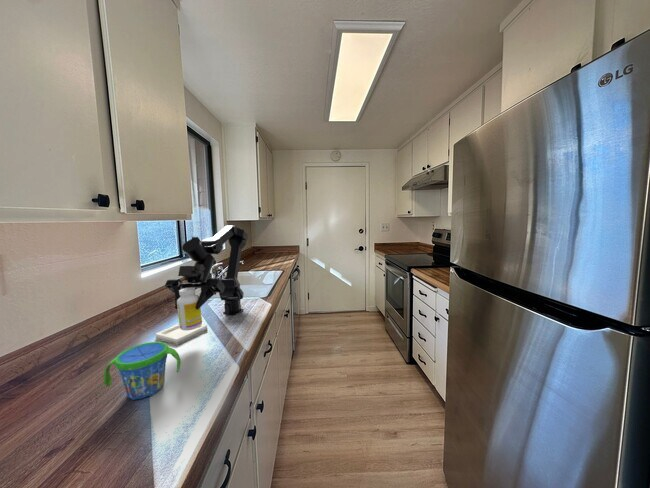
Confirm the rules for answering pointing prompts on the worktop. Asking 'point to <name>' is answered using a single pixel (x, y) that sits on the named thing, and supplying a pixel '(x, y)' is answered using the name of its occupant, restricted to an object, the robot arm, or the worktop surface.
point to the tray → (179, 334)
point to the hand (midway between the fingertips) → (186, 309)
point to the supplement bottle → (188, 309)
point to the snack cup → (142, 368)
